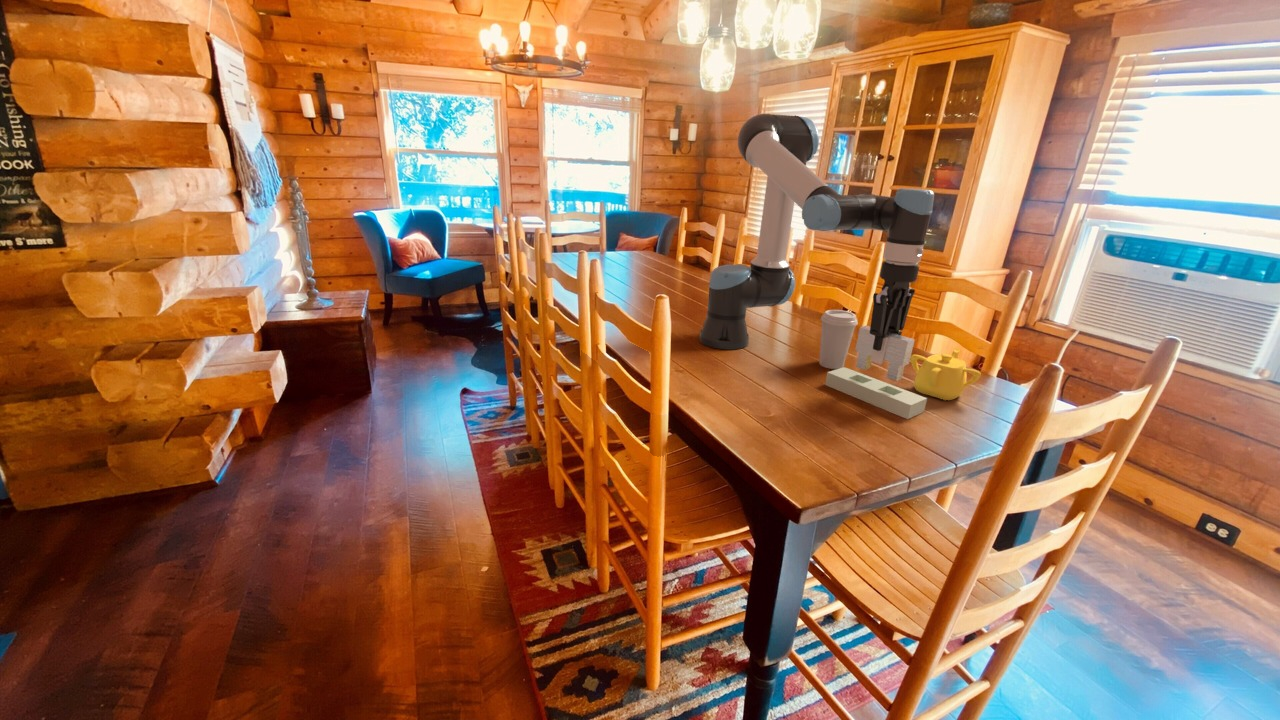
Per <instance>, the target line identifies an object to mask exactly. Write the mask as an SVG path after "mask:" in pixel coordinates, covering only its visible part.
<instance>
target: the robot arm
mask: <svg viewBox="0 0 1280 720" xmlns="http://www.w3.org/2000/svg"><path fill="white" fill-rule="evenodd" d="M819 143H820V135H819V131H818V128H817V126H816V124H815V122H814V121H813V120H812V119H811V118H808V117H804V116H800V115H788V114H787V115H786V114H770V113H760V114H756V115H753V116H752V117H750V118H749V119H748V120H746V121H745V123H744V124H743V125H742V126H741V128H740V130H739V132H738V136H737V147H738V150H739V154H740V155H741V157H742V158H743V159H744V160H745V162H746V163H748V165H750V166H751V167H753V168H759V170H761V171H762V172H763V173H764V174H765V175H766V176H767V177H766V178H767V179H766V185H765V191H764V201H763V208H762V215H761V222H760V230H759V236H758V237H759V238H758V243H757V244H758V245H757V254H756V256H755V257H754V258H753V259H751V261H750V266H748V265H747V264H739V263H738V264H737V263H735V264H733V263H732V264H723V265H719V266H717V267H716V268H714V269H713V270H711V273H710V277H709V282H708V286H709V287H708V288H709V289H708V299H707V311H706V318H705V321H703V324H702V329H700V331H699V337H698V338H699V339H698V340H699V342H700V343H701V344H702V345H705V346H707V347H709V348H714V349H718V350H740V349H744V348H745V347H748V345H749V339H750V336H749V333H748V328H747V323H746V322H747V321H746V314H747V309H750V308H760V307H775V306H779V305H783V304H785V303H787V302H788V301H789V300H790V299H791V297H792V296H793V294H794V291H795V288H796V279H795V275H794V271H792V269H790V263H789V262H788V260H787V259H786V258H787V253H788V246H789V240H790V232H791V225H792V222H793V221H792V219H793V214H794V208H795V204H796V205H797V206H798V207H799V208H800V209H801V218H802V220H803V223H804V226H805V227H806V228H808V229H809V230H812V231H819V232H828V231H829V232H830V231H845V230H846V231H847V230H851V231H852V230H853V231H854V230H874V231H881V232H882V231H883V232H887V237H886V241H885V242H886V243H885V249H884V252H883V257H882V258H883V260H884V261H883V262H882V263H881V269H880V272H879V277H880V279H882V280H884V281H883V284H882V287H881V291H880V292H879V293H878V292H877V293H876V292H874V293H873V295H872V300H873V305H872V314H871V320H870V334H872V335H875V339H874V344H873V349H872V354H871V359H870V361H871V362H872V363H875V364H877V365H879V366H881V365H883V363H884V360H883V358H884V354H885V349H886V344H887V340H888V338H887V337H886V334H887V332H891V333H894V334H898V335H901V336H902V334H903V330H904V329H905V324H906V322H907V317H908V313H909V310H910V306H911V303H912V299H913V296H914V295H915V292H916V289H914V288H910V285H911V284H912V283H914V282H916V281H917V279H918V275H919V270H920V265H919V263H920V262H921V259H922V256H923V254H924V253H925V250H924V246H925V242H926V236H927V232H928V229H929V224H930V222H931V217H932V214H933V208H934V200H935V192H934V191H933V190H931V189H924V188H923V189H921V188H920V189H919V188H899V189H897V190H896V193H895V195H894V196H888V195H887V196H886V195H878V194H877V195H876V194H874V193H870V194H868V193H864V194H862V193H861V194H858V195H856V194H855V195H854V194H849V195H847V194H839V193H838V192H837V191H836V190H835V189H834V188H832V187H831V186H830V185H829V184H827V183H826V182H825V181H824V180H823V179H821V178H820V176H818V175H817V174H816V173H815V172H813V171H812V170H811V169H810V168H809V167H808V166H807V163H808V162H810V161H811V160H812V159H813V158H814V155H816V153H817V152H818V148H819V145H820V144H819ZM910 283H911V284H910Z"/></svg>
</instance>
